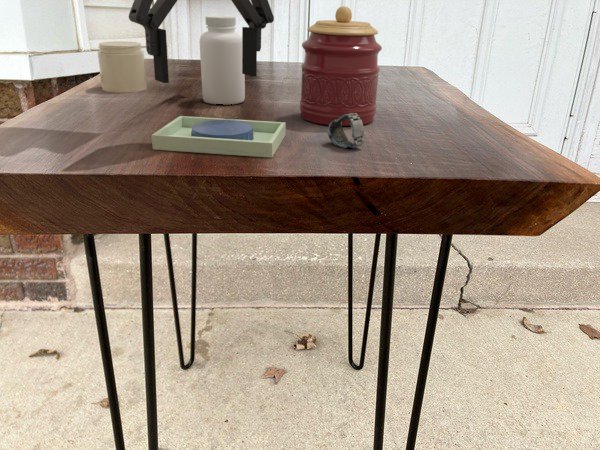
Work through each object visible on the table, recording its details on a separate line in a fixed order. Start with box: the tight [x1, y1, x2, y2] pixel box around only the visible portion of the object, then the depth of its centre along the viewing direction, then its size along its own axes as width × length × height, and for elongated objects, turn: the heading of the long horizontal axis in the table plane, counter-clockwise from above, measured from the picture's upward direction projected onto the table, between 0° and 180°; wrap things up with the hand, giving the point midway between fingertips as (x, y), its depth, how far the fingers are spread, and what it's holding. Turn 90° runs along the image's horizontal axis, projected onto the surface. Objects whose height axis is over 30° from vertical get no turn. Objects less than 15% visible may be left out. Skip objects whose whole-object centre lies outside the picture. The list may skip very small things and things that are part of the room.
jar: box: [97, 40, 148, 94], centre depth 97 cm, size 8×8×10 cm
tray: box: [151, 115, 287, 159], centre depth 74 cm, size 16×11×2 cm
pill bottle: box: [199, 14, 246, 106], centre depth 96 cm, size 8×8×15 cm
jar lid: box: [191, 120, 253, 140], centre depth 74 cm, size 9×9×2 cm
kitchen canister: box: [299, 5, 383, 127], centre depth 86 cm, size 13×13×18 cm
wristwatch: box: [326, 113, 365, 149], centre depth 73 cm, size 3×5×5 cm
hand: (207, 78), depth 73 cm, fingers open, 13 cm apart
